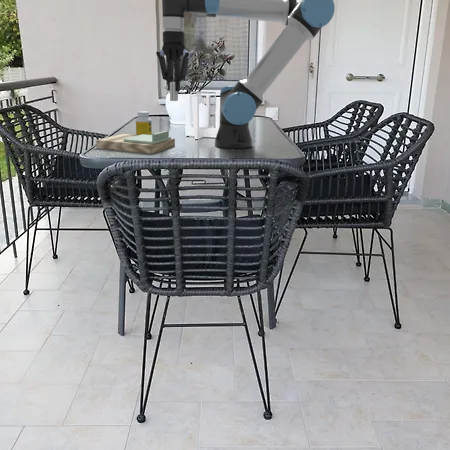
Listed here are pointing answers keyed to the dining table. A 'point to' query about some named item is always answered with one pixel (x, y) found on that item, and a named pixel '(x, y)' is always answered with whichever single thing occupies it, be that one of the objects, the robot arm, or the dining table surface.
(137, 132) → the pill bottle
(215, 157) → the dining table surface
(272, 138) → the dining table surface
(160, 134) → the cover
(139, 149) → the board
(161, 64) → the robot arm
